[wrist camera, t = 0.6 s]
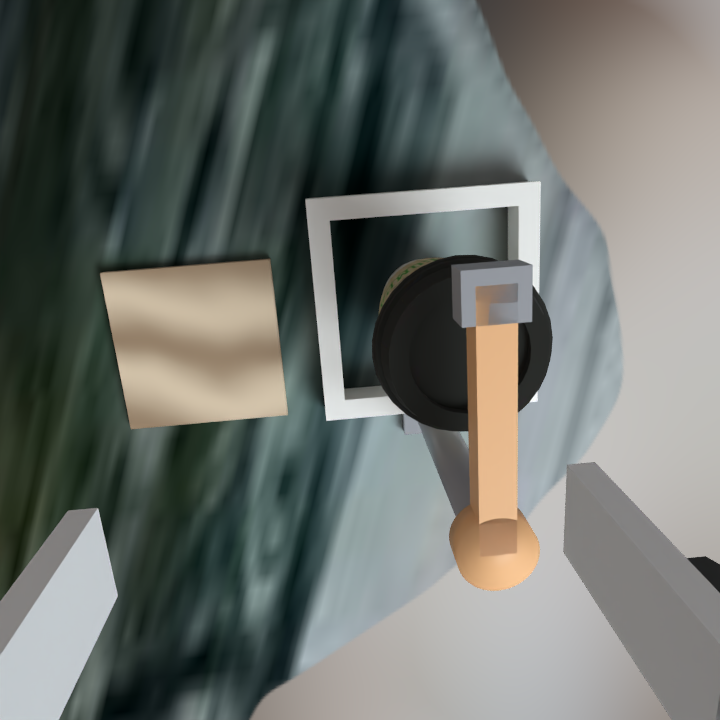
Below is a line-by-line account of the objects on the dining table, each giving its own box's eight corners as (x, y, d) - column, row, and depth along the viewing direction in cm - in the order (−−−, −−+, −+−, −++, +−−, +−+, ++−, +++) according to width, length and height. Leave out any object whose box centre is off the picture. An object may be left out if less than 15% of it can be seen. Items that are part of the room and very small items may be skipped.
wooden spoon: (440, 266, 26) (448, 271, 24) (530, 258, 26) (544, 264, 25) (450, 571, 31) (457, 594, 29) (527, 563, 31) (539, 586, 29)
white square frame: (306, 198, 42) (296, 210, 26) (528, 181, 43) (660, 182, 26) (328, 437, 48) (333, 576, 31) (526, 419, 48) (634, 545, 32)
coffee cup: (468, 215, 44) (541, 232, 29) (500, 339, 46) (581, 410, 32) (339, 258, 44) (349, 296, 30) (380, 378, 47) (406, 466, 32)
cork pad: (102, 271, 43) (99, 273, 42) (270, 258, 44) (269, 259, 43) (133, 426, 47) (131, 429, 46) (287, 412, 47) (287, 415, 46)
